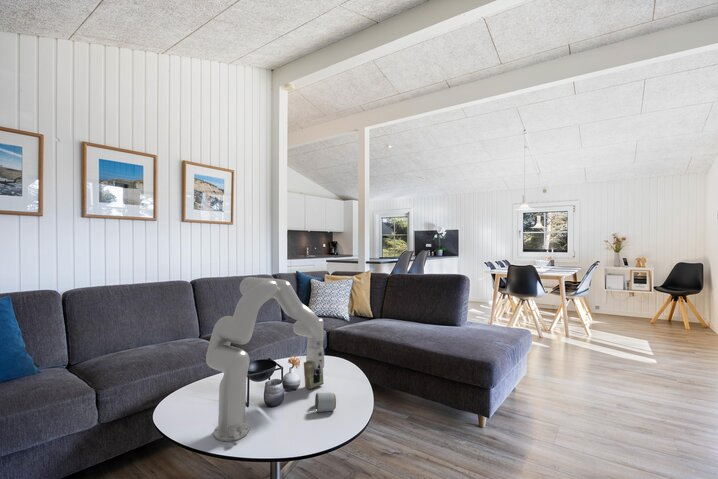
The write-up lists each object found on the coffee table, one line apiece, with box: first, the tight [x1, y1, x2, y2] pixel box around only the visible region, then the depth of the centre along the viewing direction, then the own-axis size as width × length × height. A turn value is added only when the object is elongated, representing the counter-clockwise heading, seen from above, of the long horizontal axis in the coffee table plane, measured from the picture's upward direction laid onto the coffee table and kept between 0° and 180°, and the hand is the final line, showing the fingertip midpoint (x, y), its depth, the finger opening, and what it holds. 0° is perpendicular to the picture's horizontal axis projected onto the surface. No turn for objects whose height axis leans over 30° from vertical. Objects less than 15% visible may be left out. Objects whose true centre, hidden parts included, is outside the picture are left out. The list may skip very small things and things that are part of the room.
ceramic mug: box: [314, 392, 337, 413], centre depth 159 cm, size 11×8×8 cm
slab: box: [303, 361, 324, 390], centre depth 179 cm, size 4×8×12 cm, turn 128°
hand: (313, 380), depth 179 cm, fingers closed on slab, 4 cm apart
